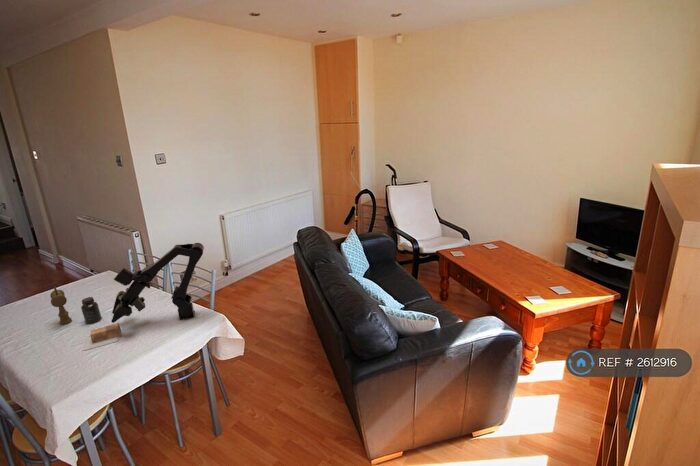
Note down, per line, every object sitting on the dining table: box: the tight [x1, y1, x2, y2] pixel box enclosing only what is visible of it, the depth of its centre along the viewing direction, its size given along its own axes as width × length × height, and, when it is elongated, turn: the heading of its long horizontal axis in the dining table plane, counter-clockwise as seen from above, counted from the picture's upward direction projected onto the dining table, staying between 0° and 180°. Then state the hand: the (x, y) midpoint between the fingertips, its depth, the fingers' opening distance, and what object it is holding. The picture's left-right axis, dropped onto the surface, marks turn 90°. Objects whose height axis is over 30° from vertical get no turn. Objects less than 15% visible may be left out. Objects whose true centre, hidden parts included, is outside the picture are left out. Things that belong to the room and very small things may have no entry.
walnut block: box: [89, 322, 122, 343], centre depth 167 cm, size 4×4×11 cm
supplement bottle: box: [80, 296, 102, 325], centre depth 181 cm, size 7×7×12 cm
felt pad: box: [82, 335, 119, 352], centre depth 167 cm, size 13×12×1 cm
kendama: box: [50, 286, 73, 325], centre depth 179 cm, size 6×10×20 cm, turn 41°
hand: (112, 317), depth 171 cm, fingers open, 9 cm apart
